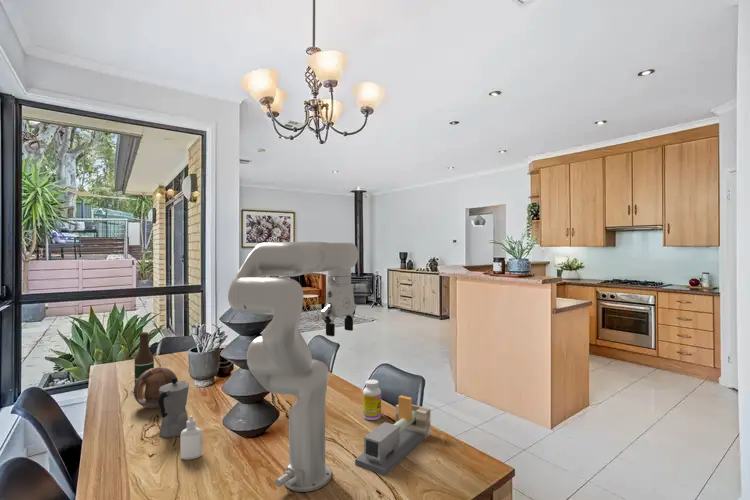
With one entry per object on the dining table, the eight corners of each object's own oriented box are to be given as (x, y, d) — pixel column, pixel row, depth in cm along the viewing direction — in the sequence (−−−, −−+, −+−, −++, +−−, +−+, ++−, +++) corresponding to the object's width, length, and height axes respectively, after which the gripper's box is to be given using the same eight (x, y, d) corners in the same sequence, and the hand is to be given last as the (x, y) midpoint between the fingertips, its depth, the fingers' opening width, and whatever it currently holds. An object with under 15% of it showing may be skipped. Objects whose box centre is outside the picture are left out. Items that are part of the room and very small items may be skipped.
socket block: (425, 439, 123) (425, 413, 123) (395, 430, 129) (395, 405, 129) (430, 434, 126) (430, 408, 126) (401, 426, 132) (401, 401, 132)
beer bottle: (158, 386, 171) (157, 332, 171) (139, 391, 165) (139, 335, 164) (148, 382, 175) (148, 330, 175) (130, 388, 169) (130, 333, 169)
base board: (385, 476, 103) (385, 470, 103) (355, 464, 109) (355, 459, 109) (426, 437, 124) (426, 432, 124) (399, 429, 130) (399, 425, 130)
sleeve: (379, 465, 106) (379, 442, 106) (364, 460, 108) (364, 436, 108) (399, 448, 115) (399, 426, 115) (384, 443, 118) (384, 422, 118)
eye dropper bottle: (193, 462, 110) (193, 420, 110) (177, 459, 112) (177, 418, 112) (204, 454, 115) (204, 414, 115) (189, 451, 116) (188, 411, 116)
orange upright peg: (394, 442, 114) (394, 409, 114) (383, 438, 116) (383, 406, 116) (419, 421, 127) (419, 392, 127) (408, 418, 129) (408, 390, 129)
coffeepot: (171, 422, 136) (170, 371, 136) (197, 422, 136) (197, 371, 135) (144, 444, 120) (144, 387, 120) (174, 444, 120) (174, 387, 120)
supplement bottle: (379, 421, 136) (379, 385, 135) (361, 420, 137) (360, 384, 137) (382, 413, 142) (382, 379, 142) (365, 412, 143) (365, 377, 143)
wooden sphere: (166, 396, 159) (165, 360, 159) (186, 404, 151) (185, 366, 151) (126, 408, 147) (126, 369, 147) (145, 418, 139) (145, 377, 138)
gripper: (331, 283, 118) (331, 339, 118) (363, 279, 132) (364, 329, 132) (313, 282, 122) (313, 336, 122) (346, 278, 136) (346, 327, 136)
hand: (339, 332), depth 127 cm, fingers open, 9 cm apart
